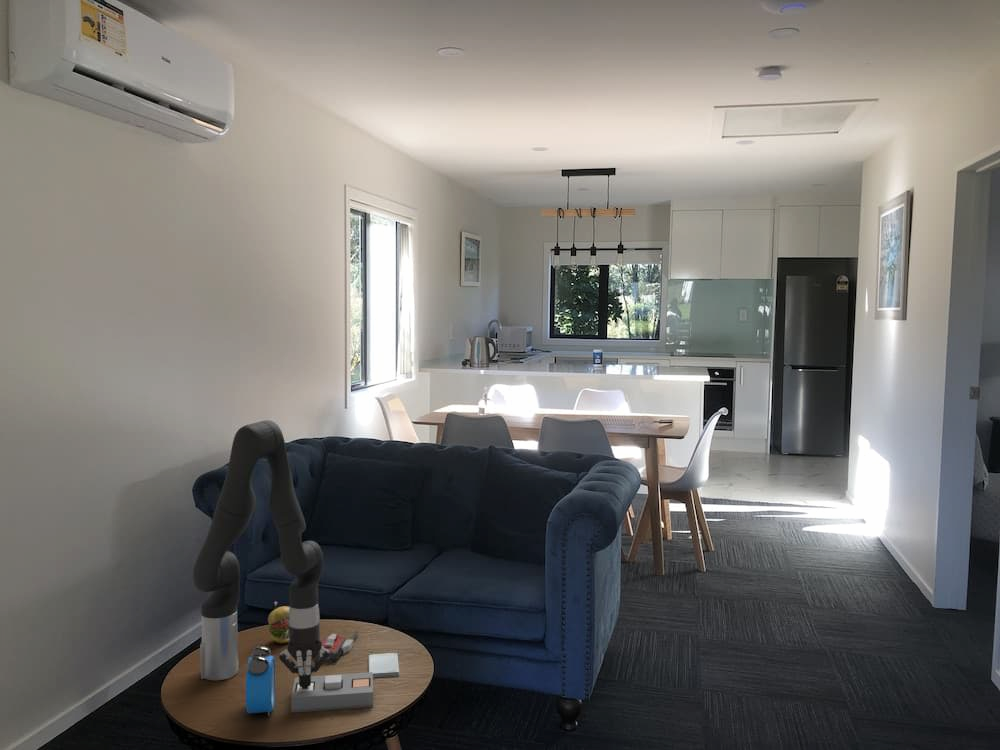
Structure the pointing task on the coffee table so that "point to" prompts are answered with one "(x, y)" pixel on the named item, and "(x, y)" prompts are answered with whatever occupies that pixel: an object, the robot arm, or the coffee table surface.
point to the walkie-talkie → (336, 646)
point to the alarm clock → (260, 681)
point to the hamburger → (279, 624)
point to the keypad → (333, 694)
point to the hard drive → (384, 665)
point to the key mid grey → (333, 682)
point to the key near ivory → (306, 689)
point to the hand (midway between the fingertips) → (305, 687)
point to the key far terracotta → (361, 683)
